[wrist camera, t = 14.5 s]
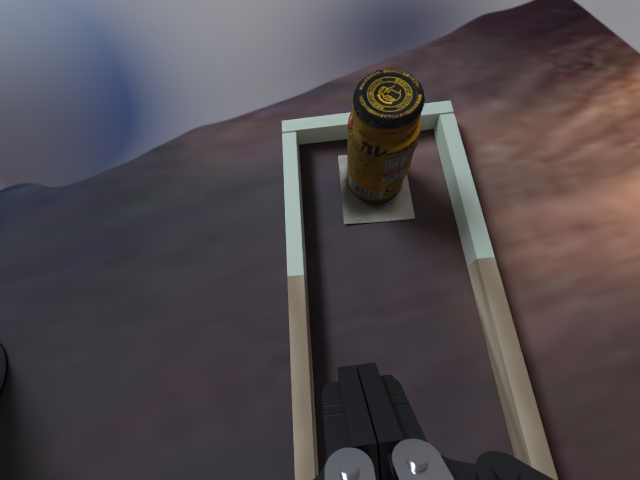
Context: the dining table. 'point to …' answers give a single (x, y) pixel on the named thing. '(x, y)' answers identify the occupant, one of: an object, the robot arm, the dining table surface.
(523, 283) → the dining table surface
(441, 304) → the dining table surface
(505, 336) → the wooden guide rails
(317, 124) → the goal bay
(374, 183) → the condiment
